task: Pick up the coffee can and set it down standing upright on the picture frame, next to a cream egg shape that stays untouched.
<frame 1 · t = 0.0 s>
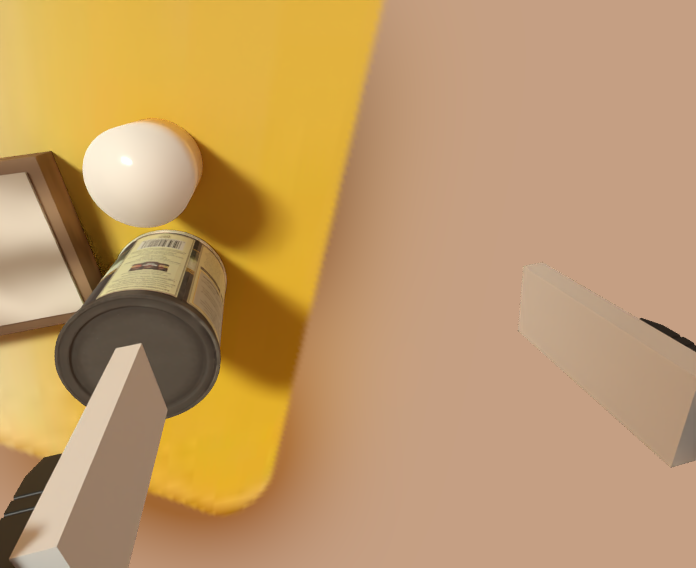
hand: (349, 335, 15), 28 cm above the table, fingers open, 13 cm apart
coffee can: (173, 279, 41), on the table
cream egg shape: (160, 161, 37), on the table
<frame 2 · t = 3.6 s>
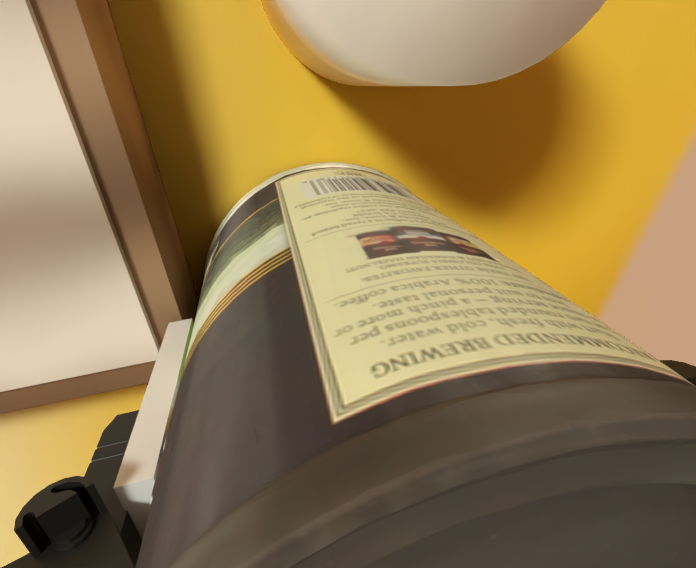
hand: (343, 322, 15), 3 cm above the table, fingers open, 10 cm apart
coffee can: (330, 282, 18), on the table, touching gripper
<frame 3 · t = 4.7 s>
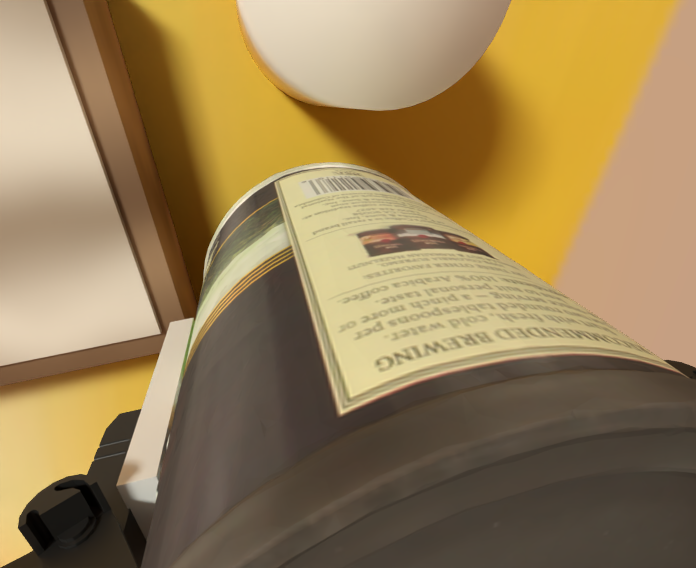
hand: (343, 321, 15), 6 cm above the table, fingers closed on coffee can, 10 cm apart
coffee can: (328, 281, 18), point 3 cm above the table, touching gripper
cream egg shape: (326, 11, 17), on the table
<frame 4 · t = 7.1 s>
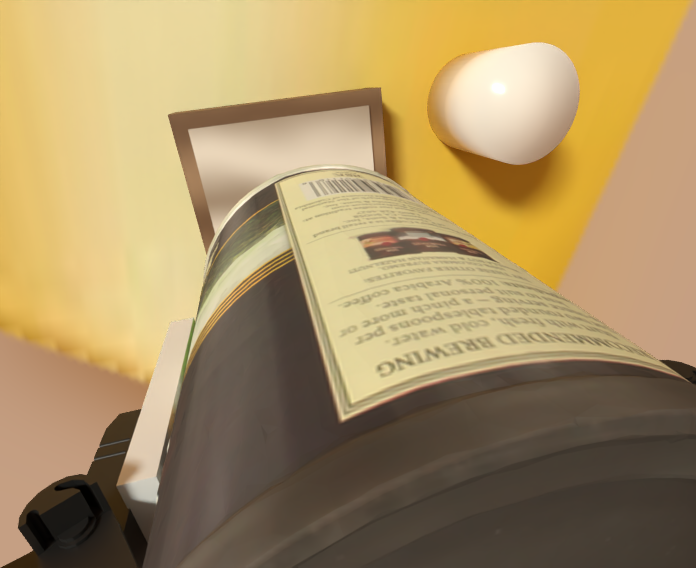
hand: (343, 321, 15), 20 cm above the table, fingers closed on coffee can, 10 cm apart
coffee can: (328, 282, 18), point 17 cm above the table, touching gripper
picture frame: (291, 195, 33), on the table
cream egg shape: (469, 103, 33), on the table
when the fingers open (7 cm above the table, at t = 9.9 s): coffee can stays where it is, resting on picture frame.
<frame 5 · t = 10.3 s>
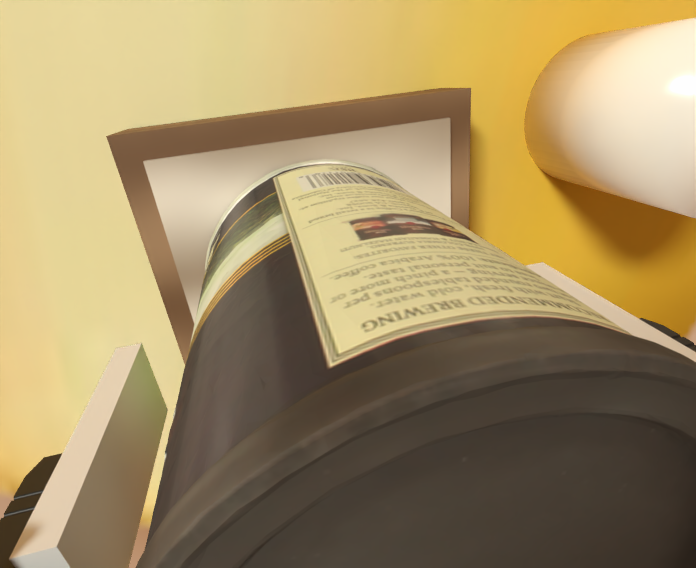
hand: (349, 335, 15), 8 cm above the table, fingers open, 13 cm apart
coffee can: (325, 274, 19), point 3 cm above the table, touching picture frame
picture frame: (315, 253, 22), on the table
cream egg shape: (586, 111, 22), on the table
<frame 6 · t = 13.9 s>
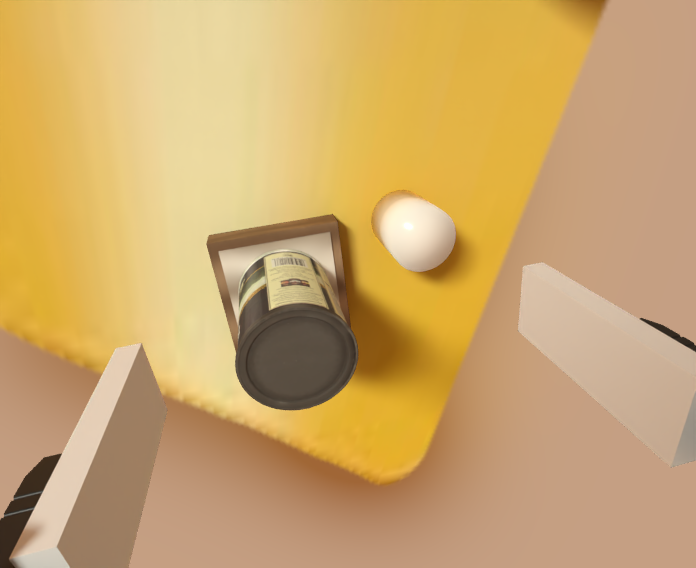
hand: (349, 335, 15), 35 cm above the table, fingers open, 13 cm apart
coffee can: (285, 290, 48), point 3 cm above the table, touching picture frame
picture frame: (282, 280, 51), on the table
cream egg shape: (399, 219, 51), on the table
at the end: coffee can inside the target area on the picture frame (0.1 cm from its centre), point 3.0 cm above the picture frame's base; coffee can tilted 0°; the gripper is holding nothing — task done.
